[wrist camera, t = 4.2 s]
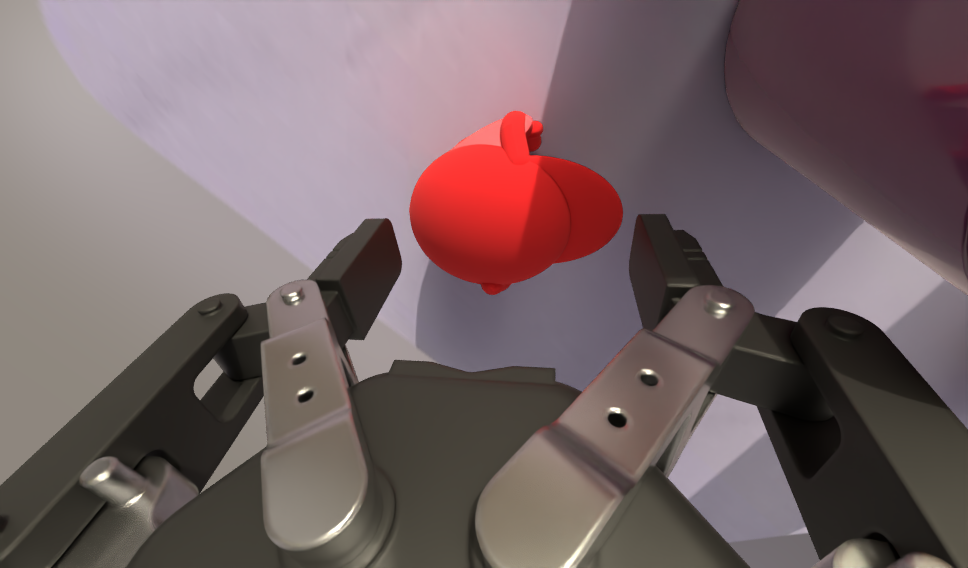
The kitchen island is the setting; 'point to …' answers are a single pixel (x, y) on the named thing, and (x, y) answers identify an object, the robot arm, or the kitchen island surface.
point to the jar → (865, 110)
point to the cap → (509, 207)
